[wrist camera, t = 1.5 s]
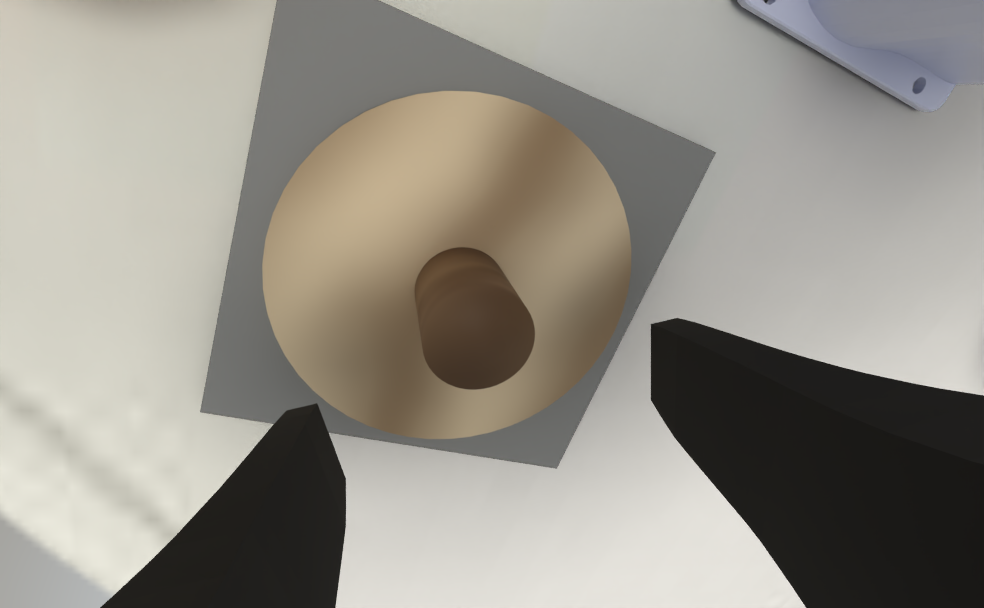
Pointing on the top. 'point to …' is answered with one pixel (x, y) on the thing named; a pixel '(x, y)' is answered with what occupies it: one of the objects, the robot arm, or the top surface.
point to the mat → (370, 83)
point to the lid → (446, 264)
